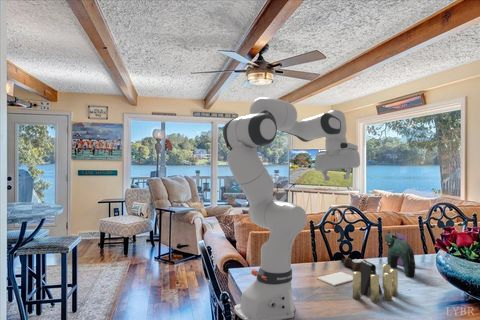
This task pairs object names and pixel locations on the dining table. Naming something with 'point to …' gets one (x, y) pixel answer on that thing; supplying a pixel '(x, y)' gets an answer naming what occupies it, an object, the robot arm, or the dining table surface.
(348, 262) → the bolt
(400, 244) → the green animal figurine
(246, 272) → the dining table surface
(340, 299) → the dining table surface
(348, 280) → the mat
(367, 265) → the phone stand
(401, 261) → the toy chair
